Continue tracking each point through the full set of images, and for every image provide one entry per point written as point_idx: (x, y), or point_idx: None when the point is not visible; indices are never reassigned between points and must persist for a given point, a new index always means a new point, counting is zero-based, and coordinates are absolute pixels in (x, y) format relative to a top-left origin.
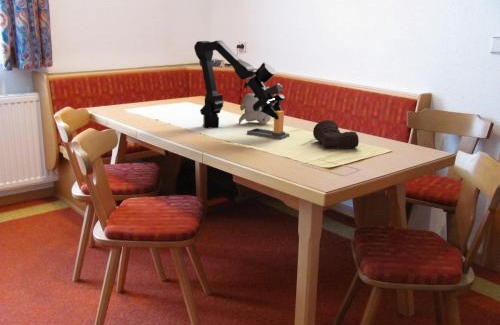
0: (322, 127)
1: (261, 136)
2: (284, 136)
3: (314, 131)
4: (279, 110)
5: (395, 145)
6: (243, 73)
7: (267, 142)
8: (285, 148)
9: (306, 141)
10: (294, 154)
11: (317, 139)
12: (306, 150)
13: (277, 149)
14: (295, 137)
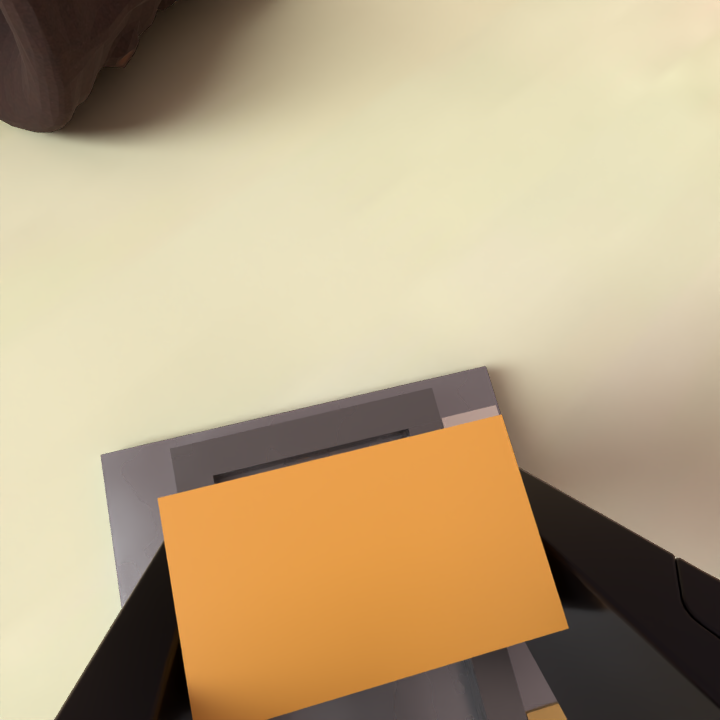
0: None
1: (536, 710)
2: (327, 414)
3: (83, 25)
4: (201, 710)
5: None
6: None
7: (592, 476)
8: (589, 171)
9: (157, 212)
10: (657, 3)
11: (137, 44)
12: (465, 10)
13: (686, 196)
14: (78, 433)
